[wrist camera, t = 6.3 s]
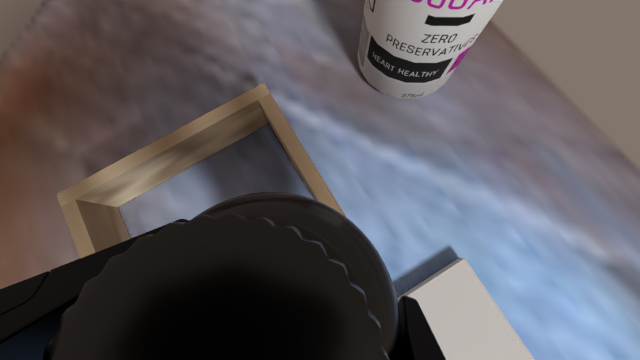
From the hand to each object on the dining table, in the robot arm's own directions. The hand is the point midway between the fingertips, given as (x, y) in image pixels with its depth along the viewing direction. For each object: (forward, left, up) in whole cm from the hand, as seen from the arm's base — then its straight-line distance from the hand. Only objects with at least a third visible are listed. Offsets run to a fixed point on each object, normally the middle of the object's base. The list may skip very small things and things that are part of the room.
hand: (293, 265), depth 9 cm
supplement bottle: (-1, -1, -7) cm, 7 cm away
